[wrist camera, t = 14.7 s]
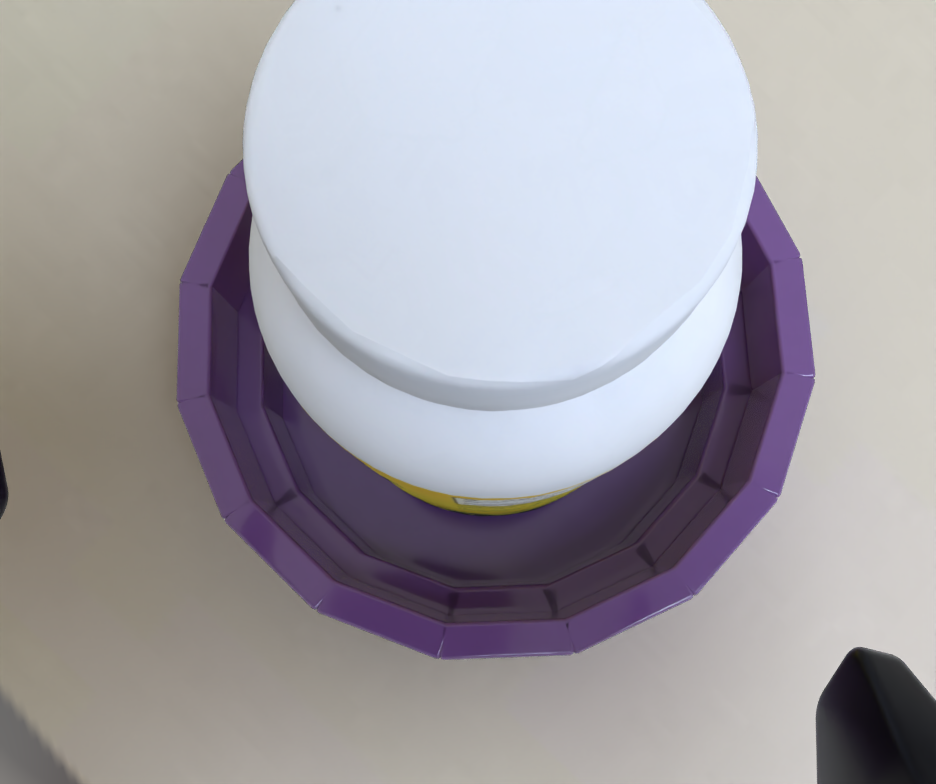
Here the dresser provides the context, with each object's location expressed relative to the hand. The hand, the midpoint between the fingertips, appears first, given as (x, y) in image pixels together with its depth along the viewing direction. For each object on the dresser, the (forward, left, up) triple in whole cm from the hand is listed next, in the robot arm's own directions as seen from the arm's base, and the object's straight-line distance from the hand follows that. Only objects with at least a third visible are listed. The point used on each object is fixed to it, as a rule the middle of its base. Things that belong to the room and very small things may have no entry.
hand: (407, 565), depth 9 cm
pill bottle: (+2, +3, -9) cm, 10 cm away
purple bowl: (+3, +3, -10) cm, 10 cm away
